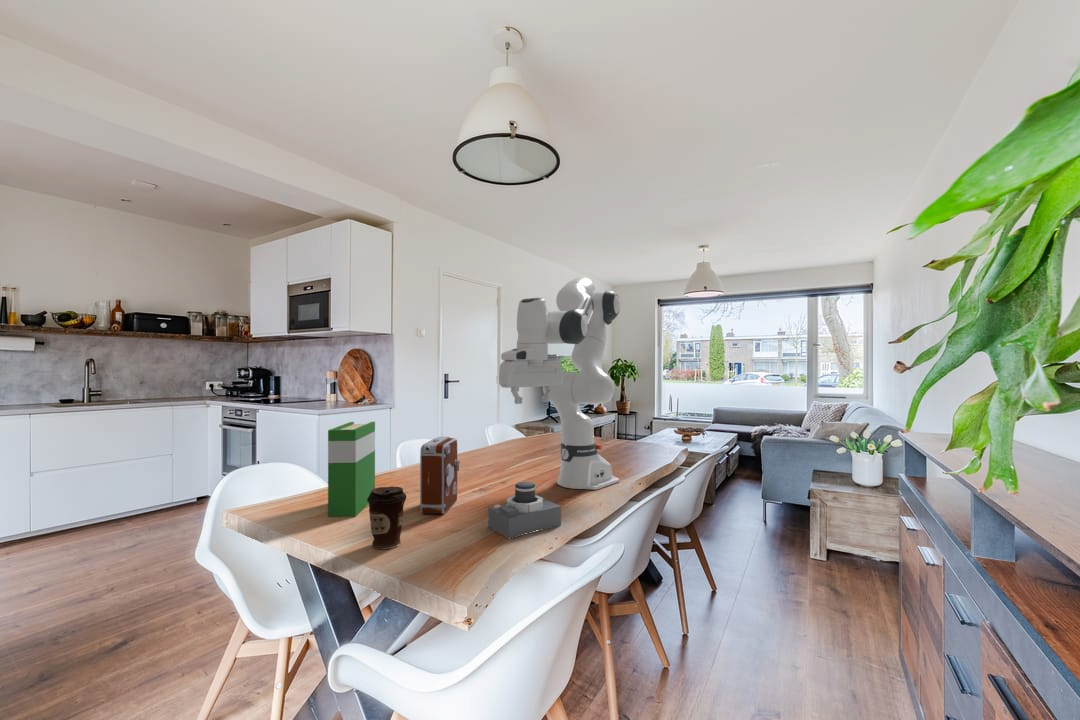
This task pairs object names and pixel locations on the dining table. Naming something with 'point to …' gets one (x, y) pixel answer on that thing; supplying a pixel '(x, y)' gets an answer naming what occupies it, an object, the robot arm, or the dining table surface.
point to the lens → (525, 492)
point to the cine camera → (438, 475)
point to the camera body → (523, 516)
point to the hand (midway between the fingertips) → (532, 402)
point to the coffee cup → (386, 516)
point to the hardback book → (350, 468)
